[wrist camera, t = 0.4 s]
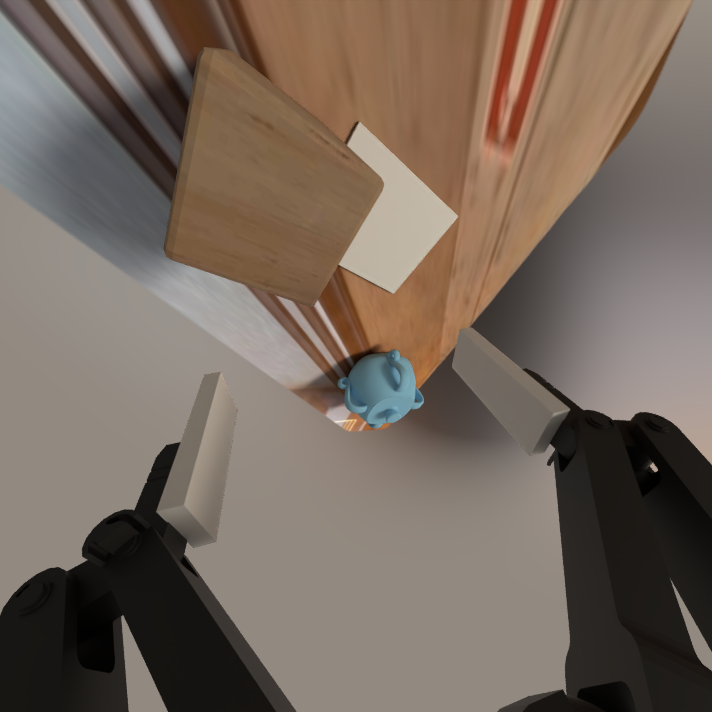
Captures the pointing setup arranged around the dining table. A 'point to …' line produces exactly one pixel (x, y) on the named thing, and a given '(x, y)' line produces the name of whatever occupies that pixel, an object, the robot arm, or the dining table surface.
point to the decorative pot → (381, 388)
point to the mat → (394, 219)
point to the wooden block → (263, 185)
